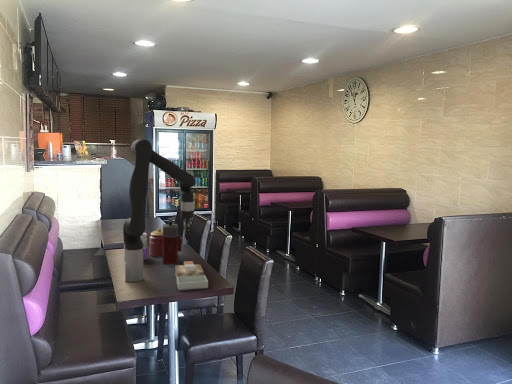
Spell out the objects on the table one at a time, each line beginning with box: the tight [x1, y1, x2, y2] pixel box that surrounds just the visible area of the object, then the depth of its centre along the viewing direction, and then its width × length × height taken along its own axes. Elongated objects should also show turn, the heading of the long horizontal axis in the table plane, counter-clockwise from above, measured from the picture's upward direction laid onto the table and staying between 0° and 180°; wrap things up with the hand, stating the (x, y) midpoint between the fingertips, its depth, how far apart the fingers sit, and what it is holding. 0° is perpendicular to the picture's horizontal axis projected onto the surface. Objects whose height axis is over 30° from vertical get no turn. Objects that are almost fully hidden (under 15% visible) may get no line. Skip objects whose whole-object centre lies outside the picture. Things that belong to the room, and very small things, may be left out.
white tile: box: [185, 264, 195, 272], centre depth 220 cm, size 5×5×2 cm
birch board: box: [174, 263, 205, 280], centre depth 222 cm, size 14×14×5 cm
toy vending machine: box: [162, 217, 182, 265], centre depth 250 cm, size 9×11×28 cm
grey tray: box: [176, 274, 209, 291], centre depth 210 cm, size 15×11×4 cm
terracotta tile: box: [183, 260, 195, 268], centre depth 225 cm, size 5×5×2 cm
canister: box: [148, 227, 163, 257], centre depth 268 cm, size 13×13×18 cm
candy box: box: [123, 232, 148, 262], centre depth 254 cm, size 14×6×16 cm, turn 112°
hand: (187, 238), depth 231 cm, fingers open, 4 cm apart
